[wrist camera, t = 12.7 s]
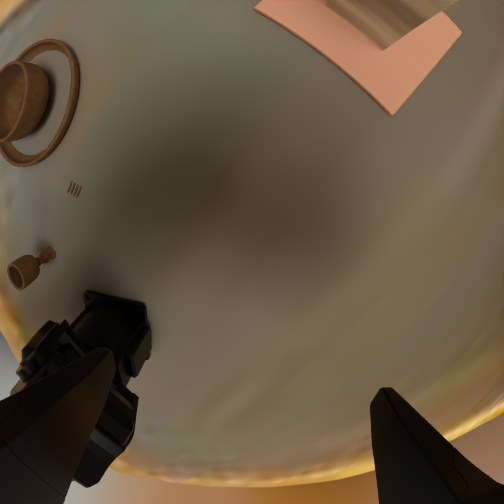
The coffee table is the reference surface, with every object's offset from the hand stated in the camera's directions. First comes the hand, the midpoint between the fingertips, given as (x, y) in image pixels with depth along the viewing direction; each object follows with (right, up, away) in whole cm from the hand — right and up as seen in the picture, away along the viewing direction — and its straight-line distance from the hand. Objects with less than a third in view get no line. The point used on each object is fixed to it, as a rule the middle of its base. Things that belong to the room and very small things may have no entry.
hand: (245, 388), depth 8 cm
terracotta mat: (+9, +21, +5) cm, 24 cm away
